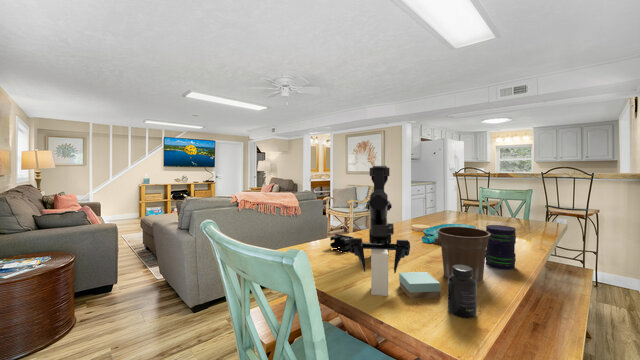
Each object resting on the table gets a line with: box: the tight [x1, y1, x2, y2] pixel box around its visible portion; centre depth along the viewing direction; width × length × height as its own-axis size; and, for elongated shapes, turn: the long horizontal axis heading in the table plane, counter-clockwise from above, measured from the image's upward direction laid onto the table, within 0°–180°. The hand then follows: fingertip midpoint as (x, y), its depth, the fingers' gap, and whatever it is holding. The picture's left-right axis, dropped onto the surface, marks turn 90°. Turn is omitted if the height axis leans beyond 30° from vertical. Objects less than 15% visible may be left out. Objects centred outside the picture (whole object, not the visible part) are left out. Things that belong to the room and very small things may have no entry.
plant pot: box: [436, 226, 490, 284], centre depth 97 cm, size 16×16×16 cm
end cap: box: [329, 233, 355, 253], centre depth 132 cm, size 10×7×7 cm
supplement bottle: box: [447, 265, 478, 319], centre depth 73 cm, size 7×7×12 cm
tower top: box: [398, 271, 441, 292], centre depth 86 cm, size 9×9×2 cm
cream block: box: [370, 249, 389, 297], centre depth 86 cm, size 5×5×12 cm
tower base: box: [399, 281, 442, 300], centre depth 86 cm, size 9×9×2 cm
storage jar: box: [485, 224, 517, 271], centre depth 108 cm, size 10×10×15 cm
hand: (379, 271), depth 85 cm, fingers open, 9 cm apart
